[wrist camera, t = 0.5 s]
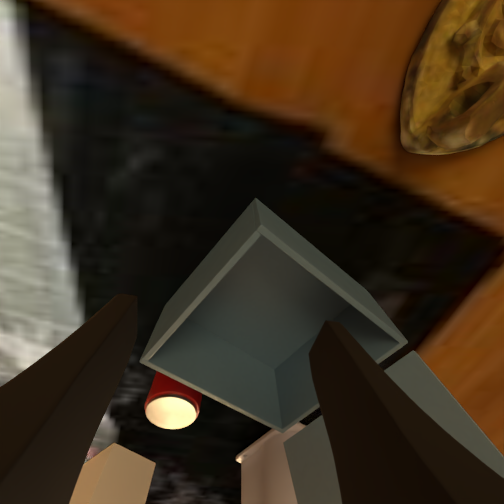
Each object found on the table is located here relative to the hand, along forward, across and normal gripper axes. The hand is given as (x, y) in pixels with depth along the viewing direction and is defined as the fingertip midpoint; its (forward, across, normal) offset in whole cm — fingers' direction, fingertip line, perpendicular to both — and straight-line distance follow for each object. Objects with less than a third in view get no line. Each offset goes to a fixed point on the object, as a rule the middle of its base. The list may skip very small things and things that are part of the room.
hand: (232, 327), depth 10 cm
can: (+9, +2, +15) cm, 18 cm away
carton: (+9, -4, +6) cm, 12 cm away
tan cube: (+7, +8, +33) cm, 34 cm away
